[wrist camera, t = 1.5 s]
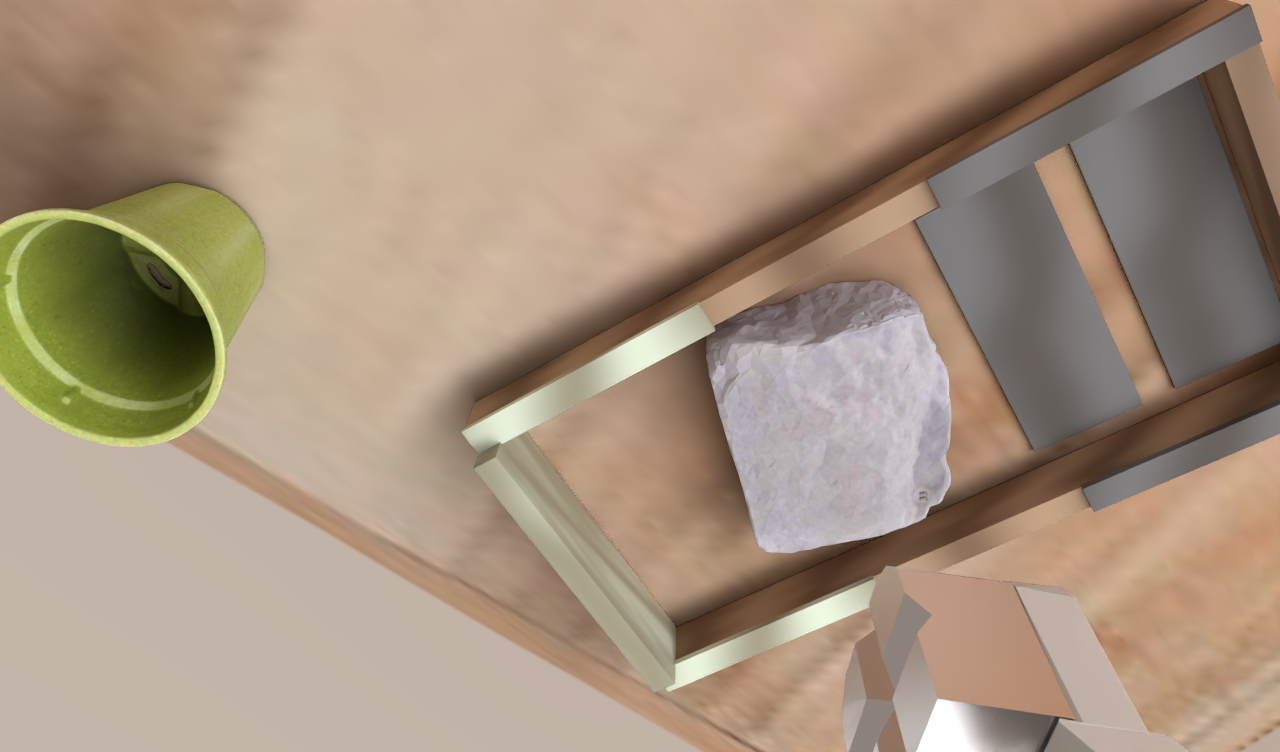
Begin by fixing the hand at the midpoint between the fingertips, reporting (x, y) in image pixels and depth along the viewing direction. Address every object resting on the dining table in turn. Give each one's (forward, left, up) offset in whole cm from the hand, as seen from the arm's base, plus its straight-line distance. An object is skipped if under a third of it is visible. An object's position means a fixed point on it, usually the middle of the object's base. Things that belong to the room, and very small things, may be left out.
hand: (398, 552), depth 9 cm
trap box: (-2, +20, -34) cm, 39 cm away
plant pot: (+21, -1, -34) cm, 40 cm away
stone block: (+1, +20, -34) cm, 40 cm away
